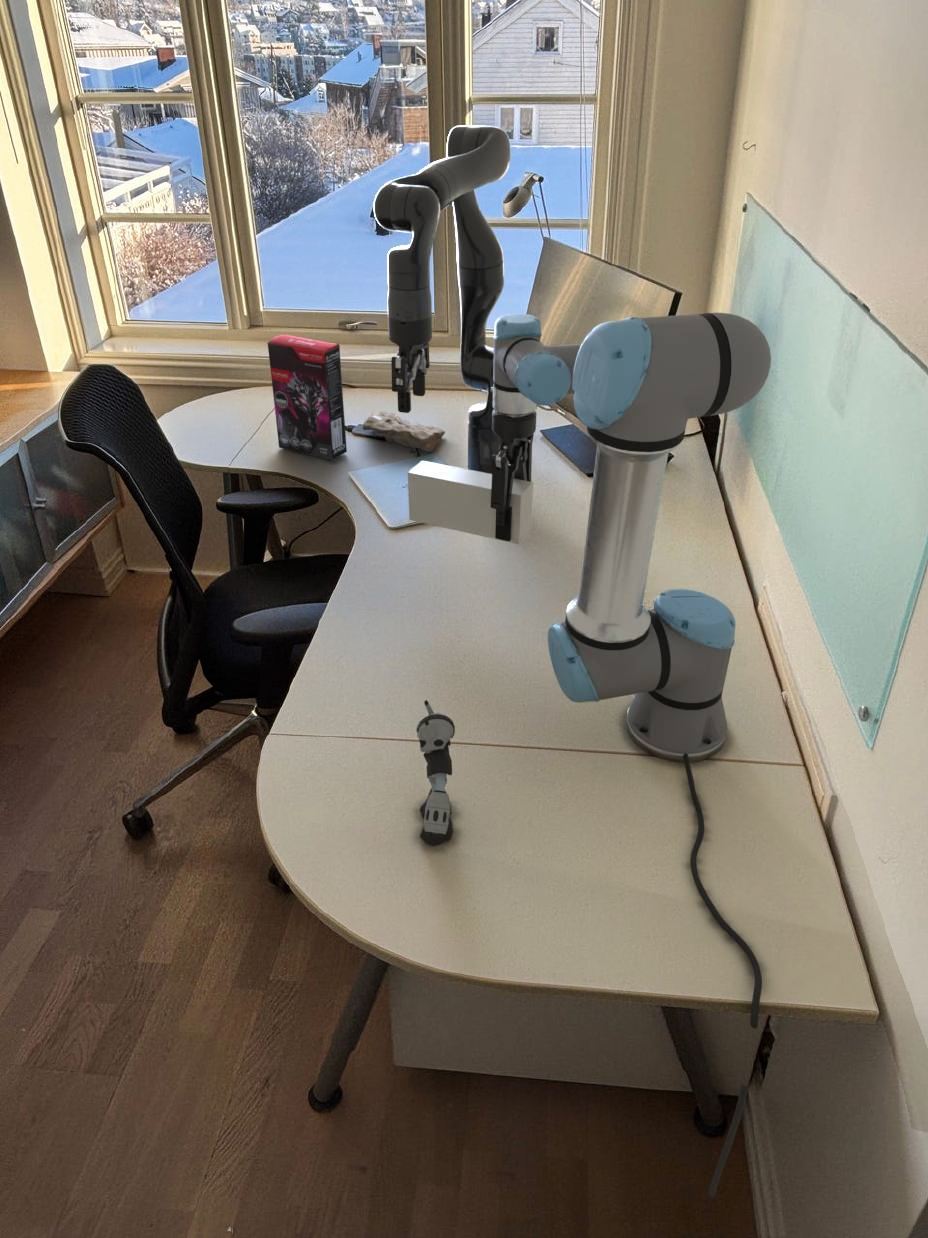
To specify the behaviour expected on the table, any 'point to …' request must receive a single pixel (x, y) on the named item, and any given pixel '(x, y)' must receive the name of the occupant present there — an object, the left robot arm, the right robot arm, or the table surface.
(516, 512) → the box
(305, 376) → the graphics card box
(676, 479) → the table surface
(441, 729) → the robot
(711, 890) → the table surface
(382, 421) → the stone
